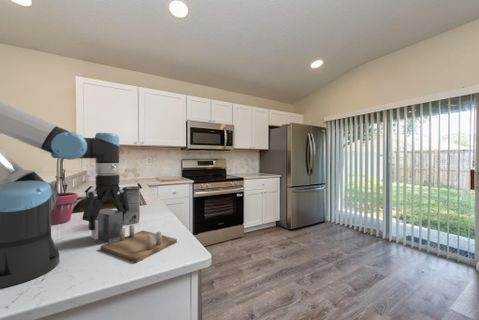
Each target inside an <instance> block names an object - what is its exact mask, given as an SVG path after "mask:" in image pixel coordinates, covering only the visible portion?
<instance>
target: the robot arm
mask: <svg viewBox="0 0 479 320" xmlns="http://www.w3.org/2000/svg"><path fill="white" fill-rule="evenodd" d="M0 135H2V136H5V137H6V138H7V137H8V138H10V139H13V140H16V141H18V142H21V143H23V144H26V145H29V146H31V147H33V148H37V149H39V150H43V151H44V152H47V153H50V157H52V158H53V159H62V160H68V161H69V160H70V161H71V160H77V159H90V160H91V159H92V160H93V159H95V189H94V190H91V191H86V192H85V197H86V199H85V204H84V209H83V214H82V221H86V222H88V229H89V231H91V239H93V240H99V239H98V220H96V218H97V216H98V213H99V211H100V210H102V206H103V204H104V203H105V201H107V200H110V199H111V201H112V202H113V204H114V206H115V209H116V210H117V211H122V212H123V222H124V214H126V211H129V205H128V200H127V195H126V191H127V188H126V187H127V186H125V187H124V186H121V187H120V185H119V184H120V175H119V173H120V137H119V135H118V134H117V133H113V132H96V133H95V136H94V137H84V136H82V135H80V134H78V133H76V132H72V131H69V130H67V129H65V128H63V127H60V126H58V125H55V124H53V123H51V122H49V121H45V120H44V119H42V118H39V117H36V116H35V115H32V114H30V113H28V112H25V111H24V110H21V109H19V108H16V107H14V106H11V105H10V104H7V103H4V102H2V101H0ZM58 193H59V192H58V189H57V188H56V187H55V186H54V185H53V184H52V183H50V182H48V181H45V180H44V179H43V178H42V177H40V176H39V175H38V173H37V172H35V171H34V170H29V169H23V168H22V167H21V166H20V165H19V164H18V163H17V162H16V161H15V160H13V159H12V157H11V156H10V155H8V154H7V153H6V152H5V151H4V150H3V149H2V148H1V147H0V288H6V287H7V288H8V287H10V286H15V285H19V284H22V283H25V282H28V281H31V280H34V279H36V278H38V277H41V276H43V275H45V274H47V273H48V272H50V271H52V270H53V269H54V268H56V267H58V265H59V263H60V252H59V249H58V248H57V246H56V244H55V242H54V239H53V237H52V225H51V211H52V210H53V209H54V208H55V206H56V205H57V203H58V198H59V196H58ZM118 193H119V194H118ZM96 195H97V196H96ZM95 197H96V199H95ZM119 197H120V198H119Z"/></svg>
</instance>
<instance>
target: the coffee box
mask: <svg viewBox="0 0 479 320" xmlns="http://www.w3.org/2000/svg"><path fill="white" fill-rule="evenodd" d="M125 187H126V188H127V191H126V195H127V200H128V205H129V211H126V214H124V221H123V226H124V225H125V226H126V225H134V224H140V213H141V211H140V210H141V207H140V203H141V202H140V201H141V200H140V198H141V197H140V196H141V195H140V193H141V191H140V189H141V188H140V185H137V186H135V185H133V186H125Z"/></svg>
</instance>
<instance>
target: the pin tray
mask: <svg viewBox="0 0 479 320" xmlns="http://www.w3.org/2000/svg"><path fill="white" fill-rule="evenodd" d="M128 231H129V232H128V234H129V235H127V236H126V228H124V227H123V228H121V229H120V239H118V240H115V241H113V242H110V243H108V242H106V243H105V244H102V245H100V248H99V249H100V250H101V251H103V252H106V253H109V254H112V255H115V256H118V257H119V258H122V259H125V260H127V261H131V262H133V263H135V264H136V263H139V262H140V261H143V260H145V259H146V258H148V257H151V256H153V255H154V254H156V253H159V252H160V251H163V250H164V249H166V248H168V247H171V246H172V245H174V244H176V243H177V242H178V240H177V238H174V237H171V236H166V235H162V231H157V232H156V233H155V232H150V231H147V230H140V231H137V232H135V225H134V224H130V225H129V230H128Z"/></svg>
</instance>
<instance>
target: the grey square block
mask: <svg viewBox="0 0 479 320" xmlns="http://www.w3.org/2000/svg"><path fill="white" fill-rule="evenodd" d="M96 220H98V239H97V240H99V241H102V242H105V243H110V242H113V241H115V240H118V239H120V229H121V228H124V227H123V226H124V221H123V212H122V211H118V210H117V209H116V210H115V209H111V208H107V207H106V208H103V209H102V208H101V209H100V211H99V213H98V216H97V218H96Z"/></svg>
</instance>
